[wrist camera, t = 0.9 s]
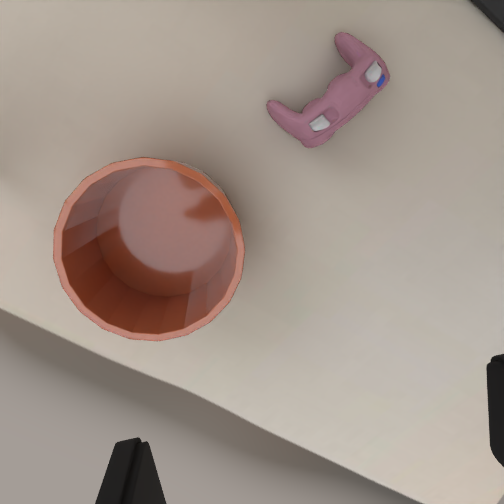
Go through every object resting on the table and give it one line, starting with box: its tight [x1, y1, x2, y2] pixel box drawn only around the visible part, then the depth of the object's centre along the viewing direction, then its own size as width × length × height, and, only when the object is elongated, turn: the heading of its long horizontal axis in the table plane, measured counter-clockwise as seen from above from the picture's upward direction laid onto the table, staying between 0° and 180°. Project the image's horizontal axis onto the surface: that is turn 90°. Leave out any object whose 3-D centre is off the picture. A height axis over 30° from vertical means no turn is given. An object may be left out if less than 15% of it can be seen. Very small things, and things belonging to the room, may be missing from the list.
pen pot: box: [53, 157, 245, 341], centre depth 33 cm, size 14×14×10 cm
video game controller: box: [267, 32, 390, 148], centre depth 34 cm, size 10×5×7 cm, turn 133°
